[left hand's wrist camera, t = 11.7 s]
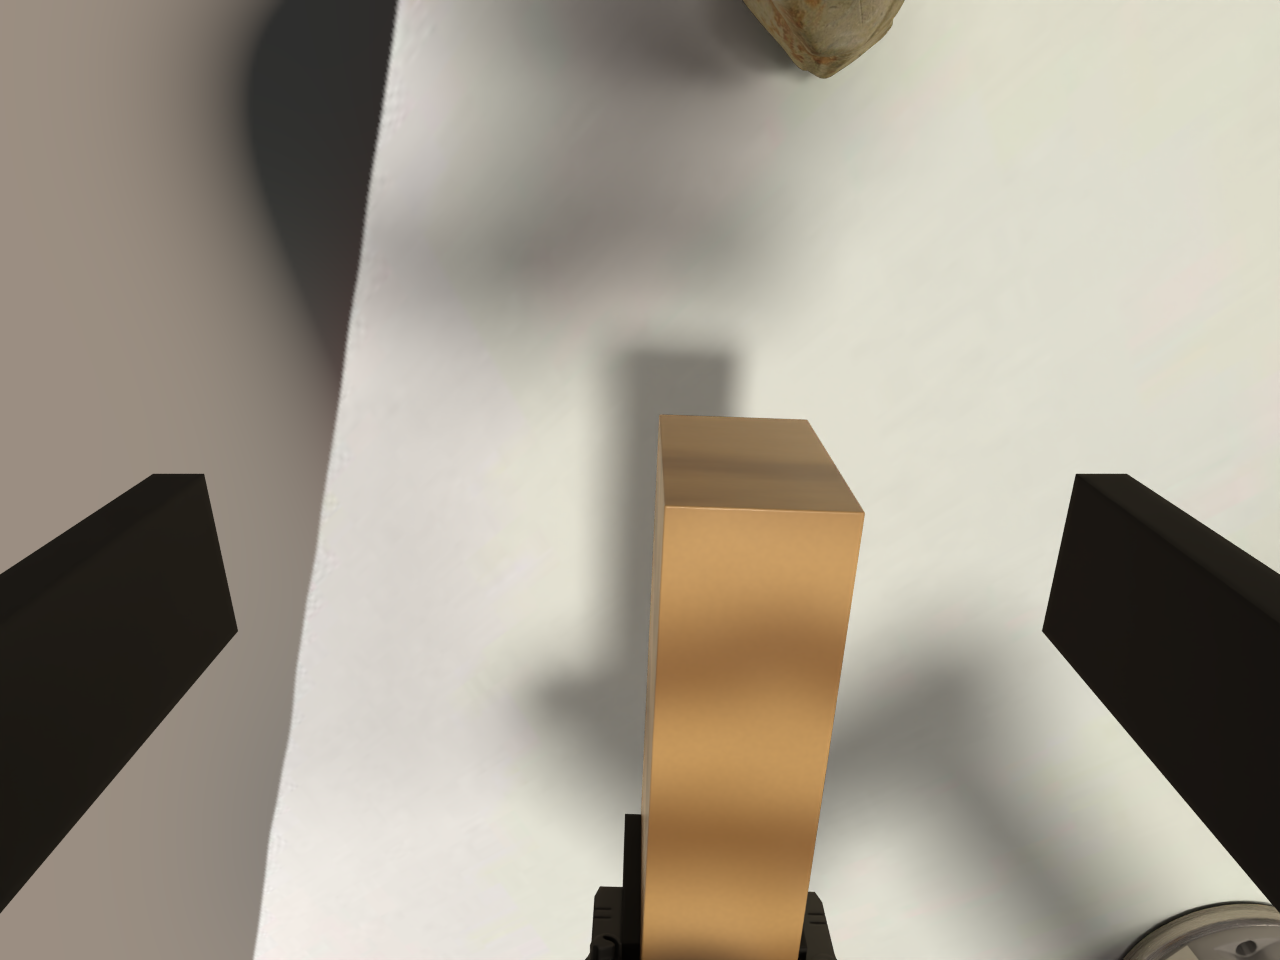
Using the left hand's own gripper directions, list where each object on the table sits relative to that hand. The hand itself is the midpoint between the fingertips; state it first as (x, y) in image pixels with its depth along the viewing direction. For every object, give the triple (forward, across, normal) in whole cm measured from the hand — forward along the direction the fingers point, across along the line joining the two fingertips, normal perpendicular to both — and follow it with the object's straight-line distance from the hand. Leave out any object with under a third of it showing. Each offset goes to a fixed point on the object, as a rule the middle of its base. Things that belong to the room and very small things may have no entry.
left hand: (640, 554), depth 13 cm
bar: (+18, +3, -15) cm, 24 cm away
